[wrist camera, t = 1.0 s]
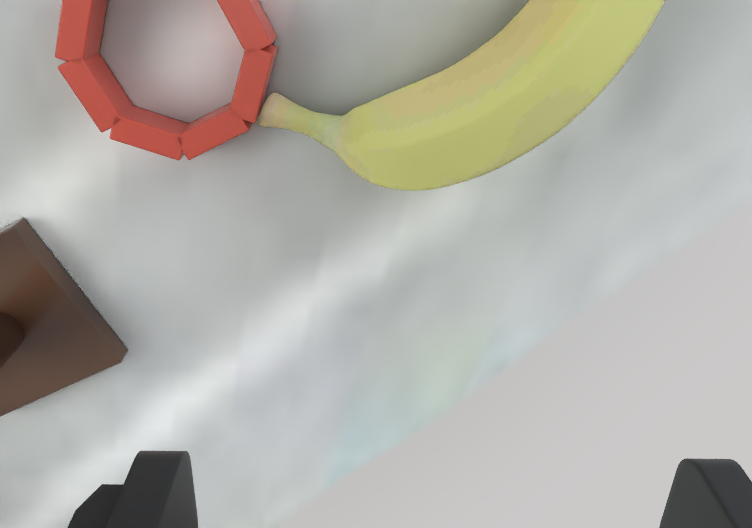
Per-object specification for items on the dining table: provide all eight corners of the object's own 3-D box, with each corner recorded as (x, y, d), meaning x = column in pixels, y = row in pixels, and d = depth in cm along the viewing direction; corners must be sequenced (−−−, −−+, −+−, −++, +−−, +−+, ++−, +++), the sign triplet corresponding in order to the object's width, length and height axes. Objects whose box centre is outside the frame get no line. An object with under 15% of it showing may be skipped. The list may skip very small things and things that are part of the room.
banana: (771, 90, 25) (281, 243, 30) (726, 89, 30) (315, 220, 35) (681, -318, 22) (163, -73, 27) (649, -241, 27) (219, -48, 33)
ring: (35, 0, 30) (14, 4, 28) (206, -99, 28) (195, -101, 26) (149, 172, 33) (137, 186, 32) (307, 93, 32) (303, 103, 30)
